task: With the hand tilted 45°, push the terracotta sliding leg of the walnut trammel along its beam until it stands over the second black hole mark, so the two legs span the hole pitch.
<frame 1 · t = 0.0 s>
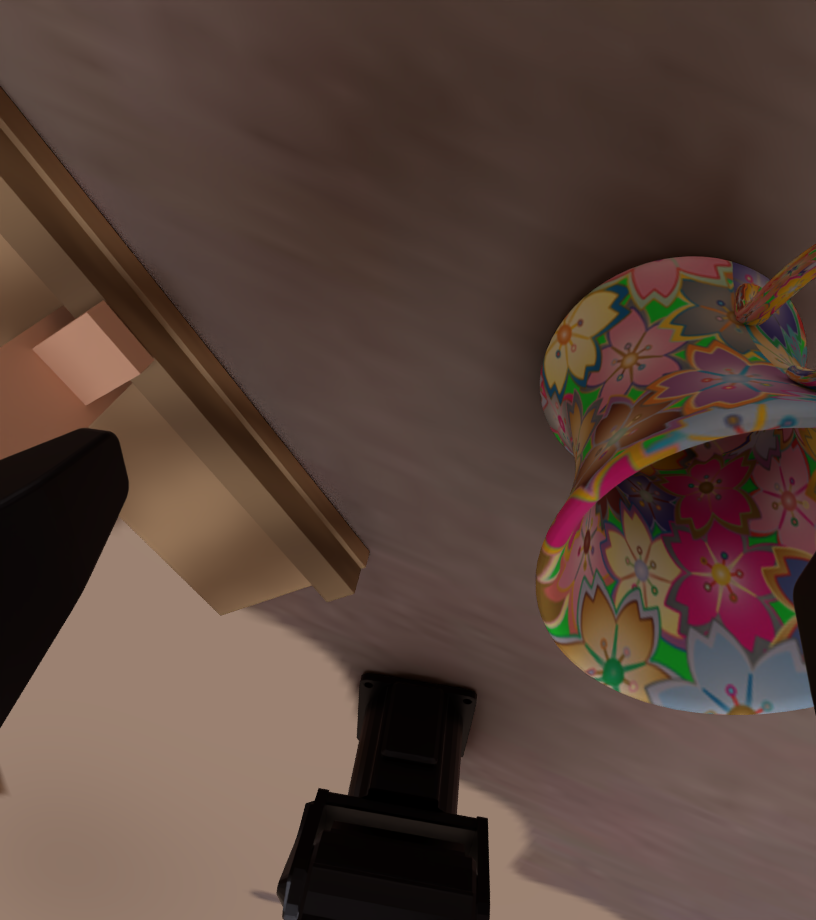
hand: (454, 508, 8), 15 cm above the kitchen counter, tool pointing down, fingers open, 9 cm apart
trammel board: (54, 311, 24), on the kitchen counter
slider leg: (6, 420, 19), point 6 cm above the kitchen counter, slide at 0.0 cm
mug: (678, 330, 22), on the kitchen counter
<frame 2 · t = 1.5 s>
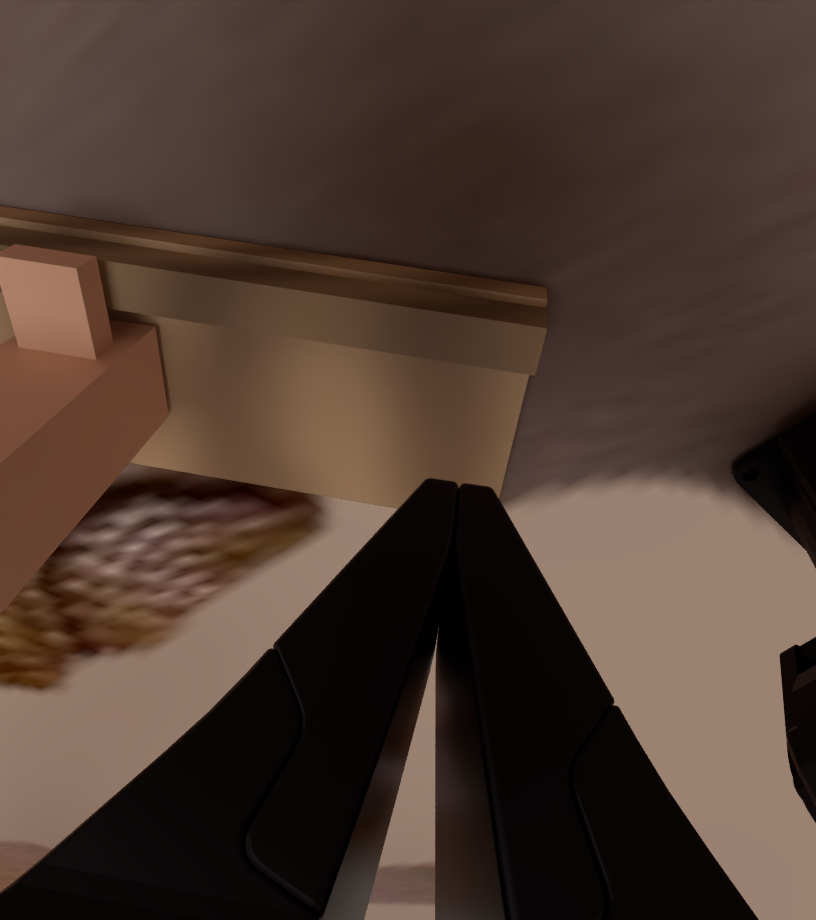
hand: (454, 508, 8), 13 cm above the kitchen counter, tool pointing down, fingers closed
trammel board: (85, 341, 23), on the kitchen counter
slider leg: (7, 405, 17), point 6 cm above the kitchen counter, slide at 0.0 cm
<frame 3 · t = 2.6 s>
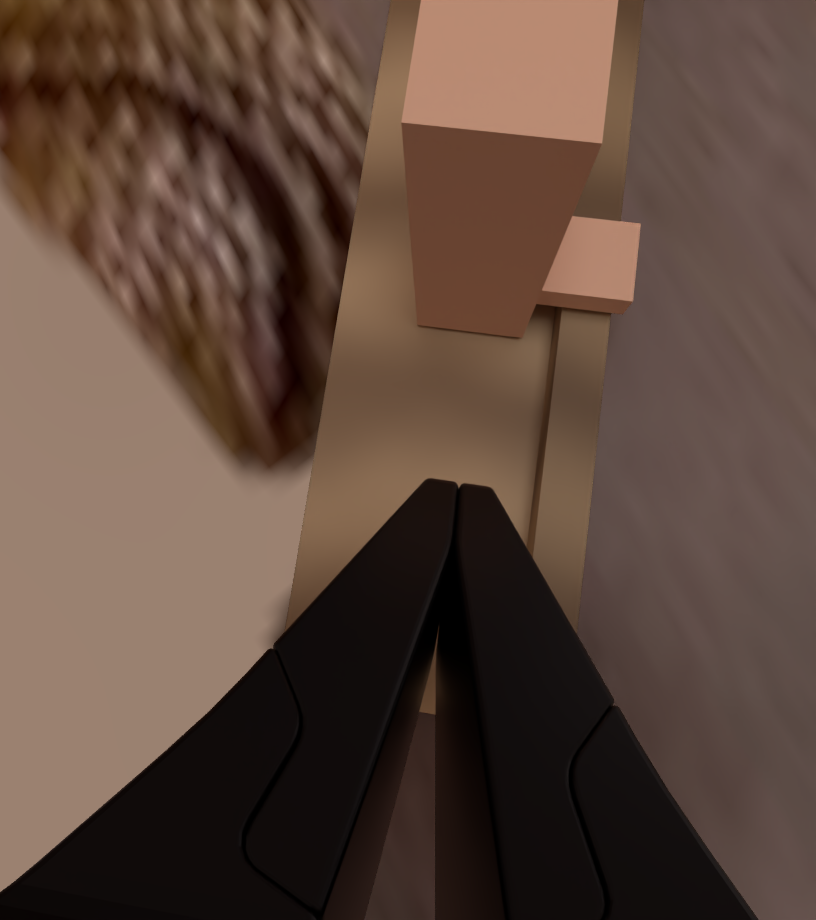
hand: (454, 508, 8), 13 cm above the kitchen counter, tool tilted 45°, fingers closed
trammel board: (480, 251, 23), on the kitchen counter
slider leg: (542, 205, 16), point 6 cm above the kitchen counter, slide at 0.0 cm
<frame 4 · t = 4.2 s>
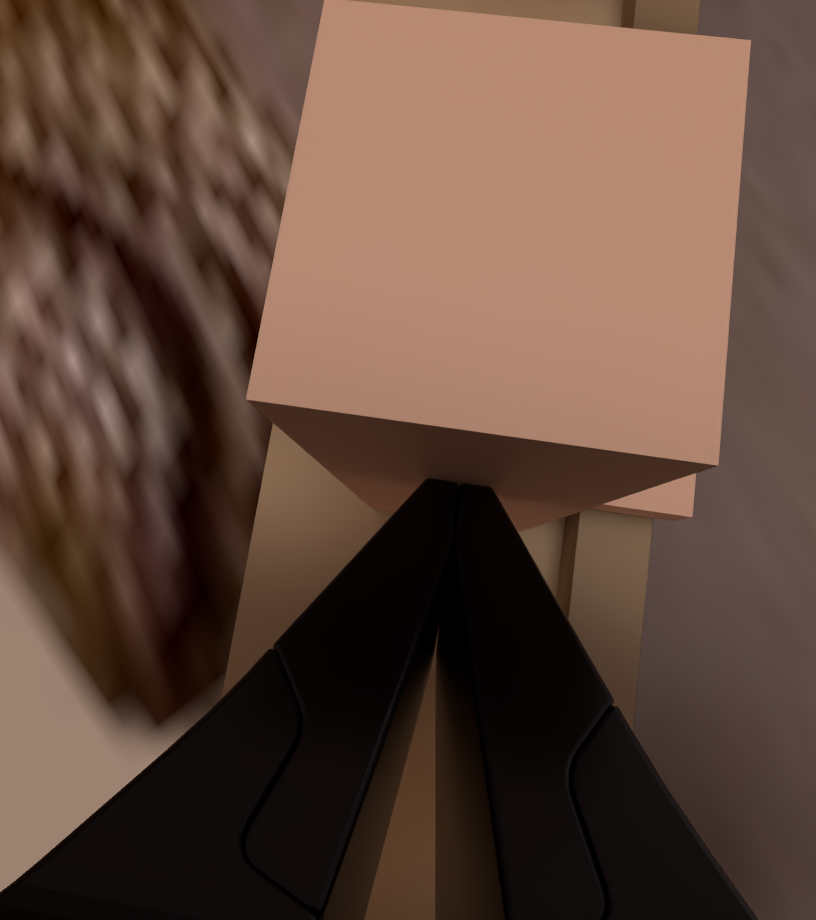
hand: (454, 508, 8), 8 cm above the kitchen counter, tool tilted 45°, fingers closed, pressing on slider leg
trammel board: (460, 412, 16), on the kitchen counter
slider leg: (557, 400, 10), point 6 cm above the kitchen counter, slide at 0.6 cm, touching gripper
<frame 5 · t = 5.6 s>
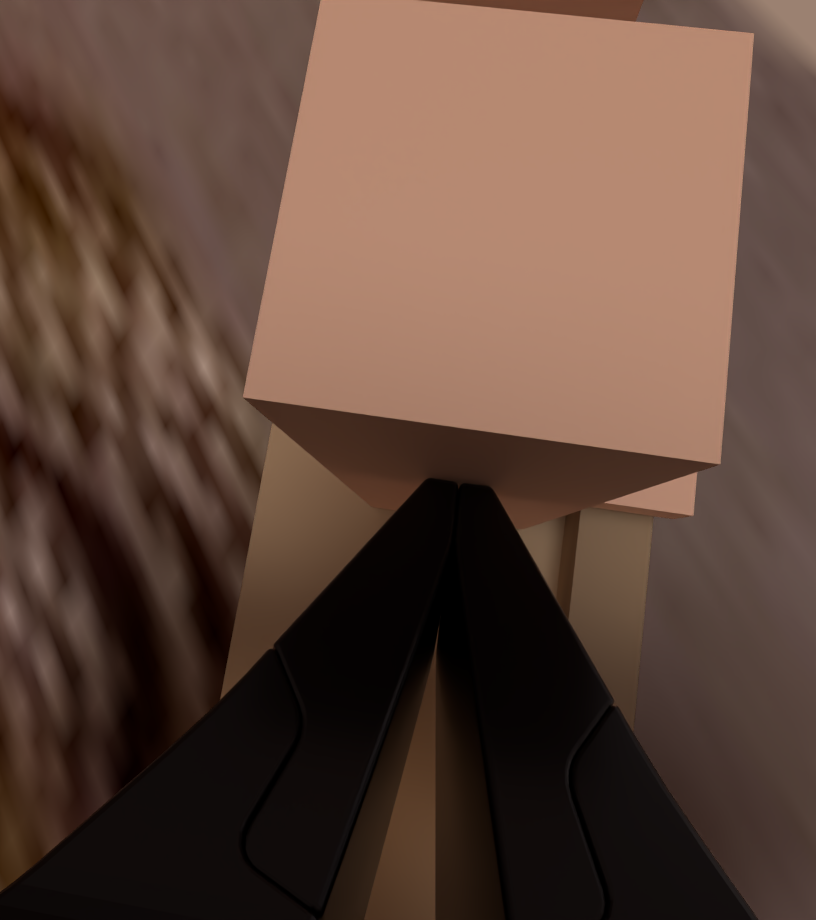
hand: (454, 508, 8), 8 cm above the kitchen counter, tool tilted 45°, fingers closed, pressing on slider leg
trammel board: (422, 678, 15), on the kitchen counter
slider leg: (557, 398, 10), point 6 cm above the kitchen counter, slide at 7.3 cm, touching gripper
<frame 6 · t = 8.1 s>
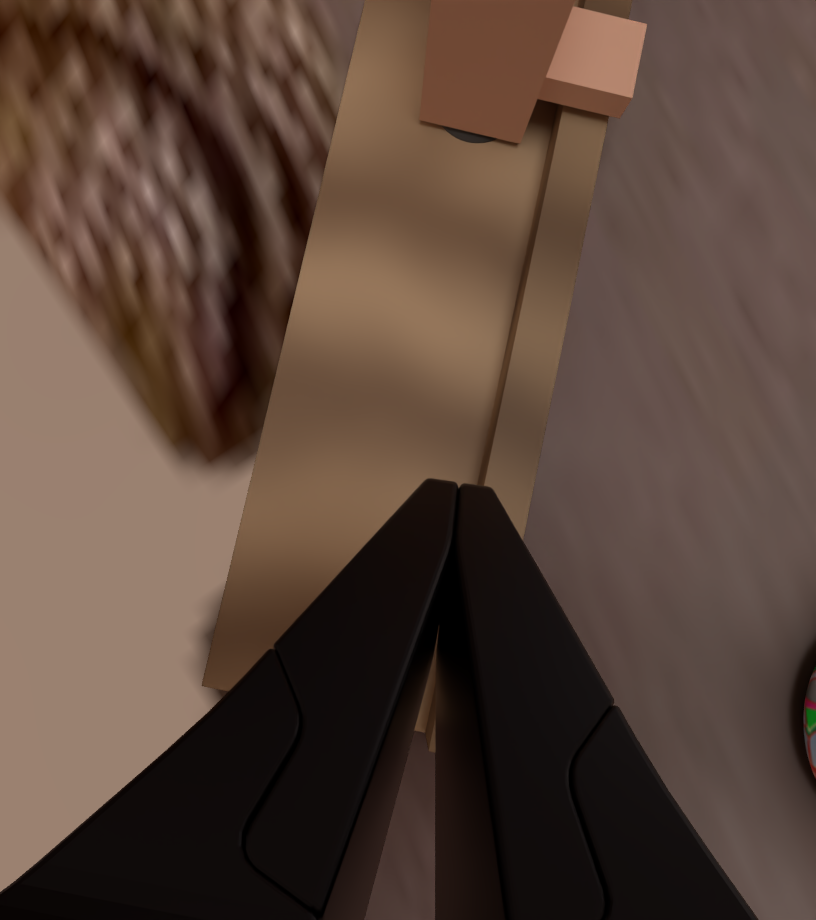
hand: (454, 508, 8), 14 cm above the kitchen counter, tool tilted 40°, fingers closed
trammel board: (441, 257, 22), on the kitchen counter
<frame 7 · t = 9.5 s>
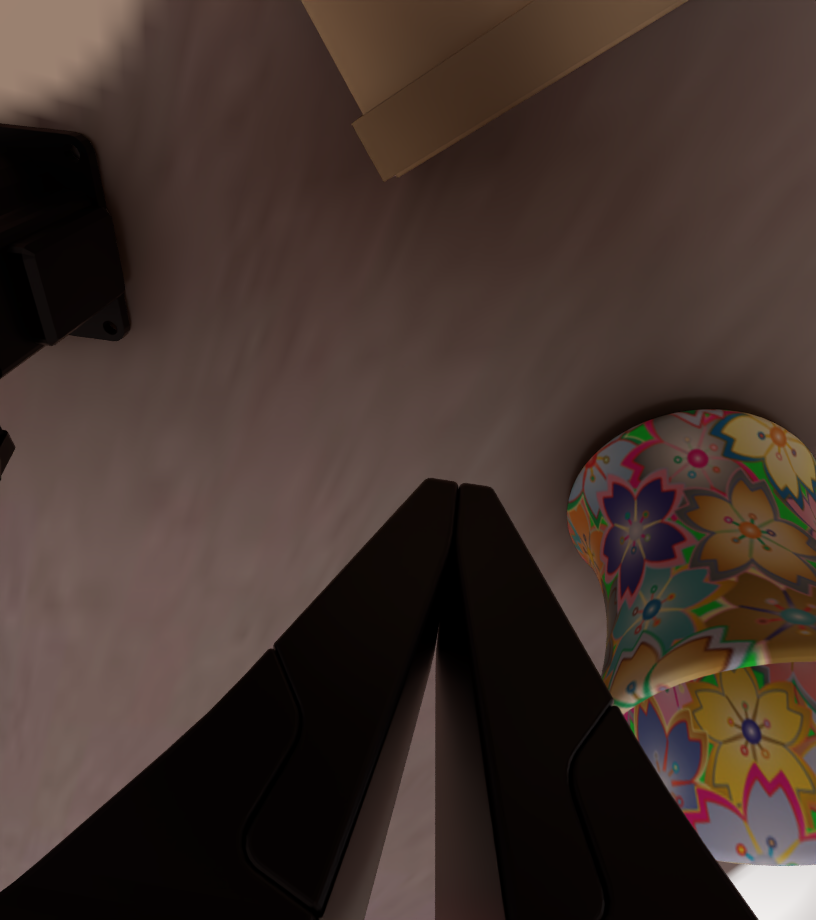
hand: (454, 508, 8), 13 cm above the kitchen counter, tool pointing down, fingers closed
mug: (716, 500, 23), on the kitchen counter
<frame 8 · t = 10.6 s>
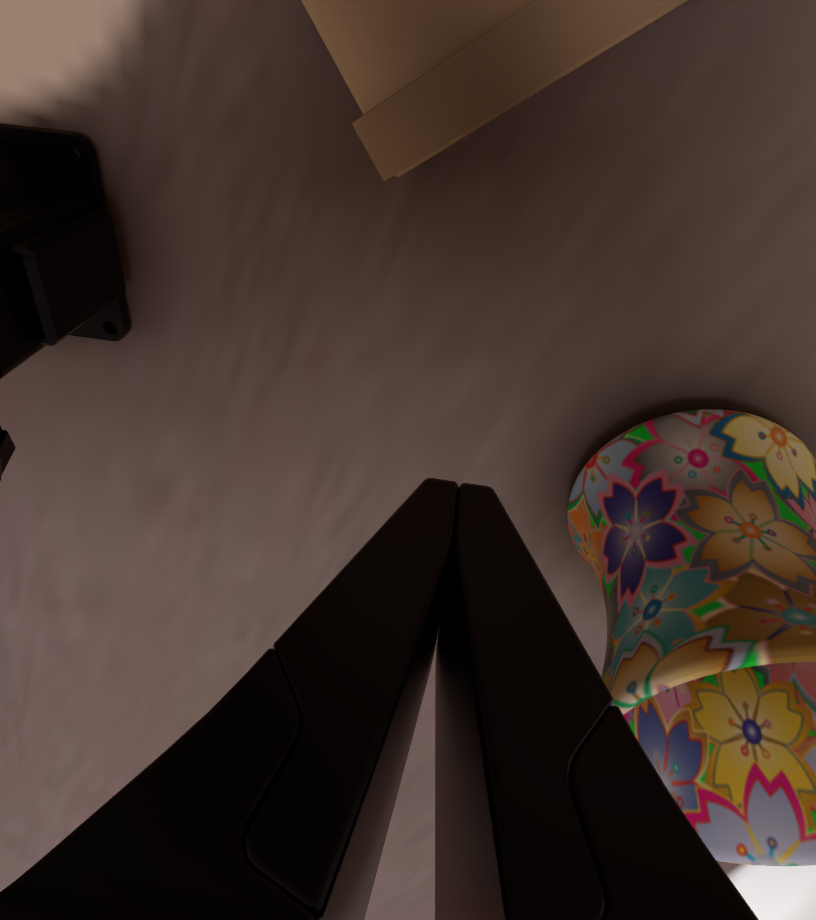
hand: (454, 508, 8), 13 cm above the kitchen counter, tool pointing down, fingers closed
mug: (716, 500, 23), on the kitchen counter
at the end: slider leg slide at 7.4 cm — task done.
